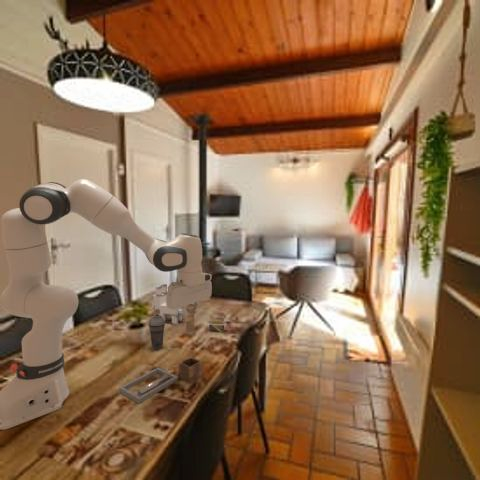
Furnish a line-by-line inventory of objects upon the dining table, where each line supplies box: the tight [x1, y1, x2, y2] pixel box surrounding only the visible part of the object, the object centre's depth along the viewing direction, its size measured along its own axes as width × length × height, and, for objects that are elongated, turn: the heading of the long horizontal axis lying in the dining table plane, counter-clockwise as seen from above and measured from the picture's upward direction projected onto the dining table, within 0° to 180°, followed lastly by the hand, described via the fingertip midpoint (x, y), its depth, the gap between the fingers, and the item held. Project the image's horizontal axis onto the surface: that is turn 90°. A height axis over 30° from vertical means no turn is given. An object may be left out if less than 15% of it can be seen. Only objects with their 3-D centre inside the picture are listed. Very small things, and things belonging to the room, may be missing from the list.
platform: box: [206, 318, 227, 333], centre depth 163 cm, size 12×18×7 cm, turn 84°
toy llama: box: [151, 283, 184, 326], centre depth 175 cm, size 8×18×20 cm, turn 71°
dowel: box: [185, 303, 195, 337], centre depth 116 cm, size 3×3×11 cm
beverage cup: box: [148, 305, 166, 351], centre depth 142 cm, size 7×7×20 cm
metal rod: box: [137, 374, 170, 397], centre depth 111 cm, size 12×2×2 cm, turn 144°
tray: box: [118, 367, 179, 405], centre depth 112 cm, size 17×11×2 cm, turn 144°
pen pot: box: [178, 356, 203, 384], centre depth 118 cm, size 6×6×6 cm
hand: (190, 314), depth 116 cm, fingers closed on dowel, 3 cm apart
